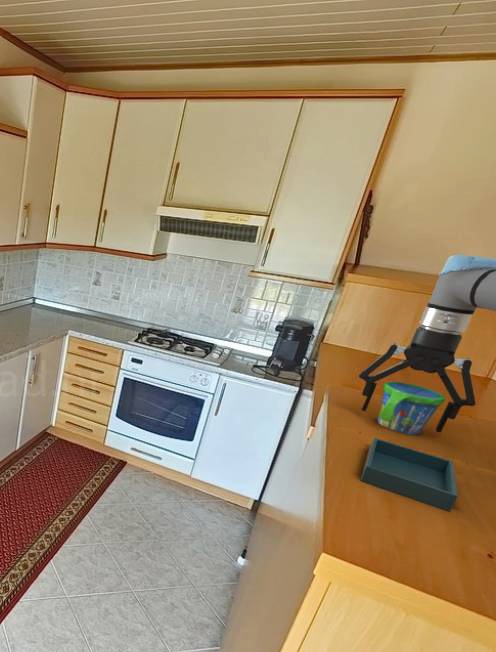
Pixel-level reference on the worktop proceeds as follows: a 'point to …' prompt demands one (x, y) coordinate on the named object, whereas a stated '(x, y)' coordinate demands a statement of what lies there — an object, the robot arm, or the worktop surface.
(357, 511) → the worktop surface
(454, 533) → the worktop surface
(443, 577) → the worktop surface
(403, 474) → the rectangular tray
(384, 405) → the snack cup
